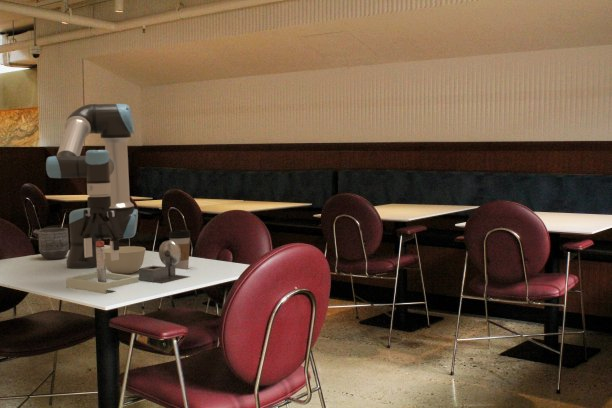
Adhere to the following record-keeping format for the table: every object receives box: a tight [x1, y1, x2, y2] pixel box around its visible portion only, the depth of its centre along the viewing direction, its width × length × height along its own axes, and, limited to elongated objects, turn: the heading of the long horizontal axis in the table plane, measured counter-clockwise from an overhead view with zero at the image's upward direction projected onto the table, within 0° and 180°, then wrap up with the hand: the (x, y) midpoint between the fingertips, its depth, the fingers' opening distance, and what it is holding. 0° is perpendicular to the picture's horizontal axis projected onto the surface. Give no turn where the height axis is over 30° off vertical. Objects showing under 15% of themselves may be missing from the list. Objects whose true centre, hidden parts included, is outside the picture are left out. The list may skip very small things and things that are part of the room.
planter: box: [37, 227, 70, 261], centre depth 296 cm, size 12×12×13 cm
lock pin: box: [96, 240, 107, 283], centre depth 230 cm, size 3×3×15 cm
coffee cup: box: [168, 229, 192, 270], centre depth 264 cm, size 8×8×15 cm
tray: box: [65, 271, 139, 295], centre depth 231 cm, size 20×14×3 cm
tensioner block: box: [137, 239, 190, 285], centre depth 238 cm, size 16×14×14 cm
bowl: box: [105, 245, 146, 275], centre depth 250 cm, size 16×16×10 cm
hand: (101, 258), depth 231 cm, fingers open, 13 cm apart
